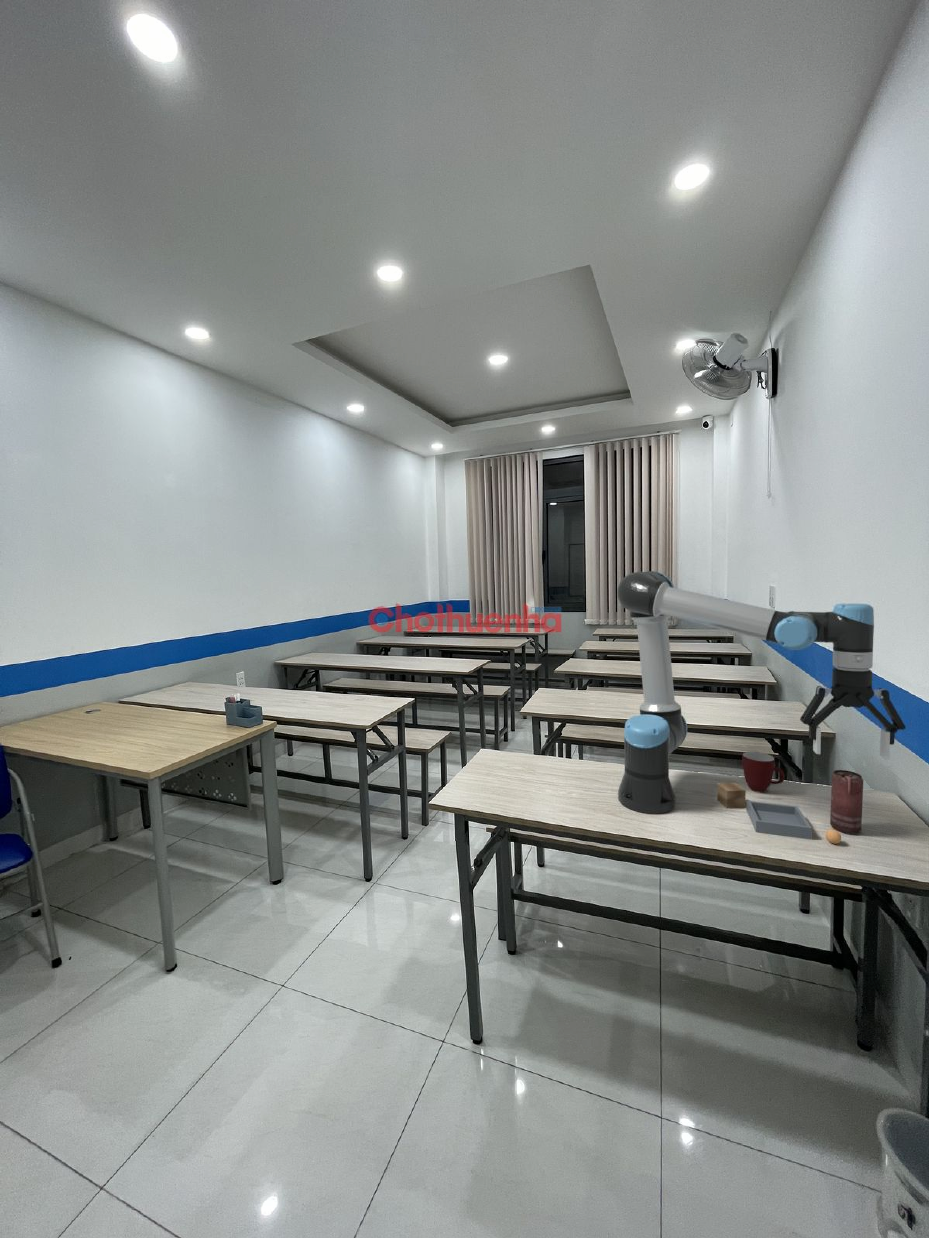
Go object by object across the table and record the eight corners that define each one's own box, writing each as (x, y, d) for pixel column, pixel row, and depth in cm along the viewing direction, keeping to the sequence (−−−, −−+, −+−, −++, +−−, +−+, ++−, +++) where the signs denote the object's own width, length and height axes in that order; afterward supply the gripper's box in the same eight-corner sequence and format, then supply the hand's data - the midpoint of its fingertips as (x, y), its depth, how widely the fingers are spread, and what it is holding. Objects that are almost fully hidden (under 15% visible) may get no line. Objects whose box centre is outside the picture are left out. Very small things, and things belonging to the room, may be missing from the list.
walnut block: (726, 808, 133) (727, 790, 132) (717, 800, 138) (717, 783, 137) (745, 808, 133) (745, 790, 132) (735, 799, 138) (735, 782, 137)
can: (835, 833, 119) (837, 777, 117) (826, 821, 124) (828, 767, 123) (865, 837, 116) (868, 780, 115) (855, 824, 122) (858, 770, 121)
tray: (755, 831, 120) (756, 821, 120) (746, 810, 131) (746, 800, 131) (811, 839, 116) (812, 828, 116) (797, 816, 127) (797, 806, 127)
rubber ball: (827, 844, 114) (828, 832, 113) (823, 838, 117) (823, 826, 116) (843, 847, 113) (843, 834, 112) (838, 840, 115) (838, 828, 115)
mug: (780, 786, 145) (781, 754, 144) (786, 798, 137) (787, 763, 136) (739, 782, 149) (740, 750, 148) (744, 793, 141) (744, 759, 140)
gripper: (795, 669, 118) (794, 755, 119) (926, 672, 109) (923, 765, 111) (787, 664, 125) (785, 745, 126) (909, 666, 116) (906, 753, 118)
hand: (849, 754), depth 119 cm, fingers open, 13 cm apart
